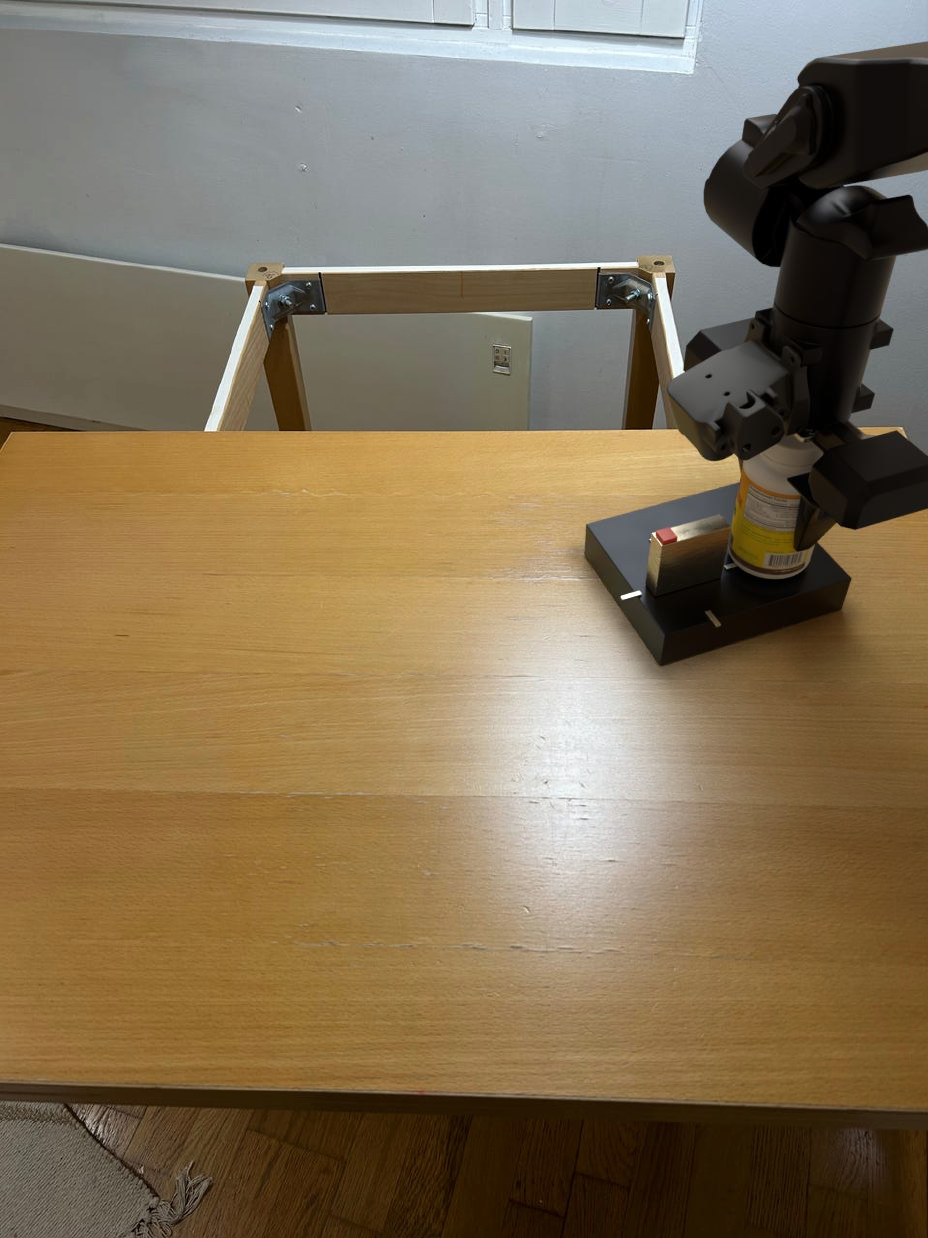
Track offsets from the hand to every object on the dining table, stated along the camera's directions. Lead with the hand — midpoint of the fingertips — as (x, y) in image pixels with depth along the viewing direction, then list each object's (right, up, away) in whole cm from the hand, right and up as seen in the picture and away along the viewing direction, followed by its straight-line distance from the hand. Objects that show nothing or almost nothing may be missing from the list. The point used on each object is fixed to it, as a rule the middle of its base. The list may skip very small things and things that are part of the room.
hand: (776, 521), depth 65 cm
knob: (-6, -4, +1) cm, 7 cm away
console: (-3, -4, +5) cm, 7 cm away
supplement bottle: (0, -2, +2) cm, 3 cm away
